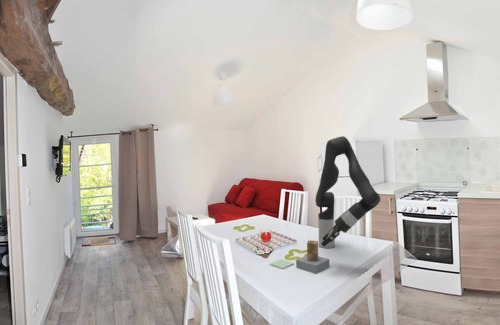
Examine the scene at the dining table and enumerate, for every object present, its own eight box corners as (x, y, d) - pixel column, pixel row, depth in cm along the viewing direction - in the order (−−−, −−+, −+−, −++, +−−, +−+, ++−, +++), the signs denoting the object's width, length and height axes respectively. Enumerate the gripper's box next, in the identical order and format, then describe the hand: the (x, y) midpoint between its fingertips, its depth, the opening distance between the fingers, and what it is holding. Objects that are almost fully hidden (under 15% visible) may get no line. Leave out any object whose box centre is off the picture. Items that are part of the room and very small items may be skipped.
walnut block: (318, 258, 167) (317, 240, 166) (317, 261, 162) (317, 243, 162) (308, 257, 168) (308, 240, 168) (307, 260, 164) (307, 243, 163)
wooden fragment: (256, 244, 206) (256, 243, 206) (273, 244, 205) (273, 243, 205) (254, 259, 181) (254, 257, 180) (273, 259, 180) (273, 257, 180)
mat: (280, 260, 176) (280, 259, 176) (293, 264, 170) (293, 263, 170) (269, 264, 170) (269, 263, 170) (282, 269, 164) (282, 268, 164)
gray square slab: (310, 261, 174) (310, 253, 174) (329, 266, 165) (329, 259, 165) (296, 267, 166) (296, 259, 165) (315, 273, 157) (315, 265, 157)
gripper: (341, 212, 167) (318, 233, 171) (340, 218, 153) (316, 241, 157) (351, 223, 166) (329, 243, 169) (352, 230, 152) (327, 252, 156)
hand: (323, 242), depth 163 cm, fingers open, 8 cm apart
